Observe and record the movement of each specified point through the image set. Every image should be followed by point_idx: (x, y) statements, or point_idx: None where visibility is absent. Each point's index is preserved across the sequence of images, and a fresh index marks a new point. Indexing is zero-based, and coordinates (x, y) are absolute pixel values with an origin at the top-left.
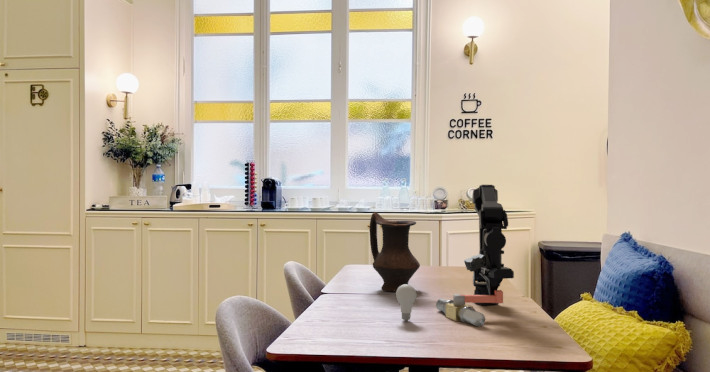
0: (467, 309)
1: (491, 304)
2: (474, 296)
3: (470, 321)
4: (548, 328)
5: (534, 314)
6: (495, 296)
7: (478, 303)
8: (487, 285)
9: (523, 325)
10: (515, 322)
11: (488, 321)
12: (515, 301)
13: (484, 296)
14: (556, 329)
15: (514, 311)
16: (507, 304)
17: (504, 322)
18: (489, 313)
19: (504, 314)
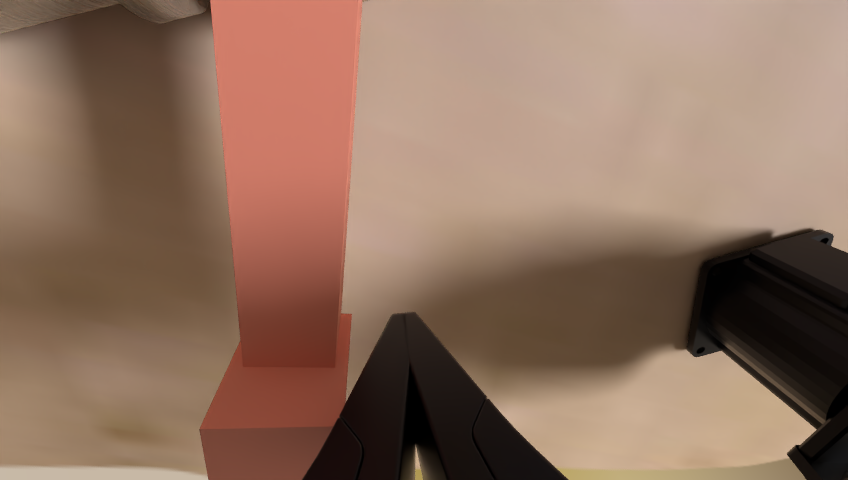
0: None
1: (694, 315)
2: (216, 31)
3: None
4: (84, 440)
5: None
6: (242, 357)
7: (755, 249)
8: (451, 410)
9: (131, 347)
10: (216, 325)
11: (221, 152)
12: (707, 428)
13: (231, 220)
14: (70, 465)
15: (511, 383)
16: (670, 387)
17: (203, 261)
18: (492, 241)
19: (448, 320)
